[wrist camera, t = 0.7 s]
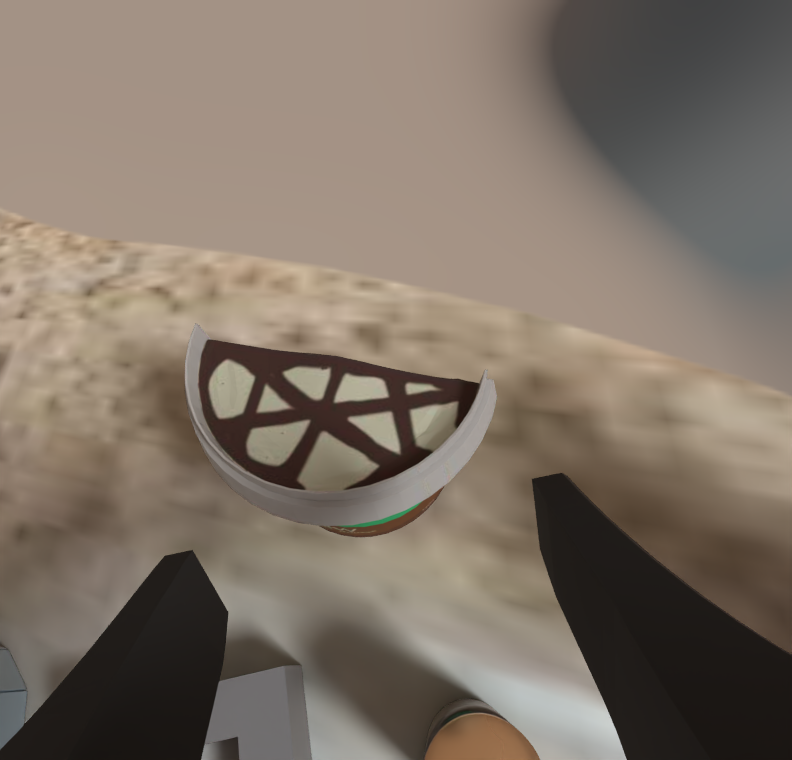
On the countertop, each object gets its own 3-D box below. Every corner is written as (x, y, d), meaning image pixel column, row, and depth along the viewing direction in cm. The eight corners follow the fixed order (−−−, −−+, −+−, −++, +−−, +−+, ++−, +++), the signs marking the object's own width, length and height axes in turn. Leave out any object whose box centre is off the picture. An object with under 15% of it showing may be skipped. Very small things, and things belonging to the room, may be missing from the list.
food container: (218, 533, 27) (111, 471, 18) (259, 421, 30) (182, 320, 21) (462, 588, 25) (475, 549, 16) (482, 463, 28) (503, 372, 19)
